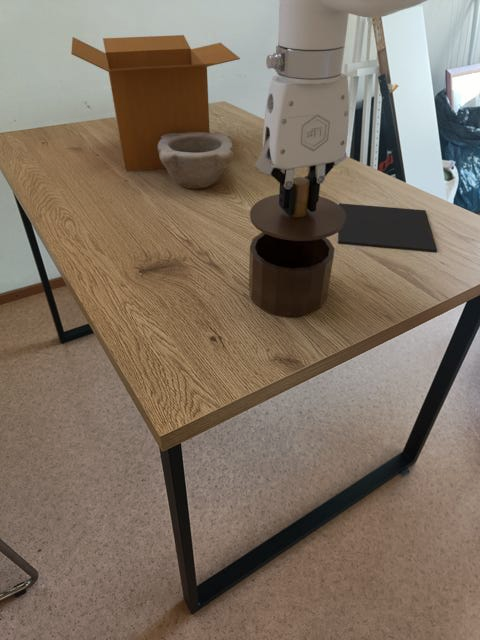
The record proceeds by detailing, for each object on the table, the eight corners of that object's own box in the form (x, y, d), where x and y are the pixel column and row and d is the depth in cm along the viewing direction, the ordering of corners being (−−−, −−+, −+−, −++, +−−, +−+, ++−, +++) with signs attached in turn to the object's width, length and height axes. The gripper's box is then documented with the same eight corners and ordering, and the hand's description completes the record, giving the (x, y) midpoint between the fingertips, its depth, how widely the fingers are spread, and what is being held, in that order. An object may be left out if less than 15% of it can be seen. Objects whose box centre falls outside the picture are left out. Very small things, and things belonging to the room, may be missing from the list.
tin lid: (327, 196, 71) (331, 158, 67) (359, 239, 61) (367, 198, 57) (242, 204, 69) (242, 165, 66) (261, 249, 59) (262, 207, 55)
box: (214, 123, 139) (211, 24, 122) (250, 174, 110) (252, 54, 93) (93, 133, 131) (72, 29, 115) (97, 190, 103) (70, 63, 86)
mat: (424, 212, 95) (425, 210, 95) (436, 252, 83) (437, 250, 83) (338, 205, 98) (339, 203, 97) (338, 243, 86) (338, 241, 85)
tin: (313, 267, 79) (319, 224, 74) (337, 312, 70) (346, 266, 65) (243, 274, 78) (243, 230, 72) (258, 321, 68) (260, 275, 63)
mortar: (231, 166, 114) (231, 128, 108) (234, 195, 101) (234, 154, 95) (164, 167, 113) (160, 129, 107) (158, 197, 100) (153, 156, 94)
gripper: (256, 76, 47) (254, 232, 59) (388, 63, 52) (361, 211, 63) (232, 62, 53) (235, 208, 65) (353, 52, 57) (335, 190, 69)
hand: (298, 208), depth 64 cm, fingers closed on tin lid, 2 cm apart
